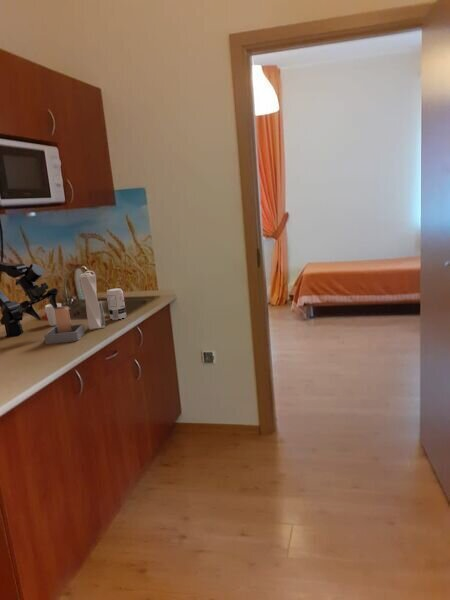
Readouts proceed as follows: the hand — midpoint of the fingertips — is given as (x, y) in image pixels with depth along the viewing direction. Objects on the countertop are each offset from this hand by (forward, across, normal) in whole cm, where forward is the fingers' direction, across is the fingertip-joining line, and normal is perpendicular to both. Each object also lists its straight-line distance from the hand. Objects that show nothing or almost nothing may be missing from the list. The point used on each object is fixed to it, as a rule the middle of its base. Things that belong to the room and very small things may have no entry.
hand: (49, 315), depth 218 cm
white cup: (0, +12, +24) cm, 27 cm away
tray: (+14, -1, -3) cm, 14 cm away
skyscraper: (+16, +16, 0) cm, 23 cm away
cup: (+13, 0, -3) cm, 13 cm away
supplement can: (+16, +32, +6) cm, 36 cm away
